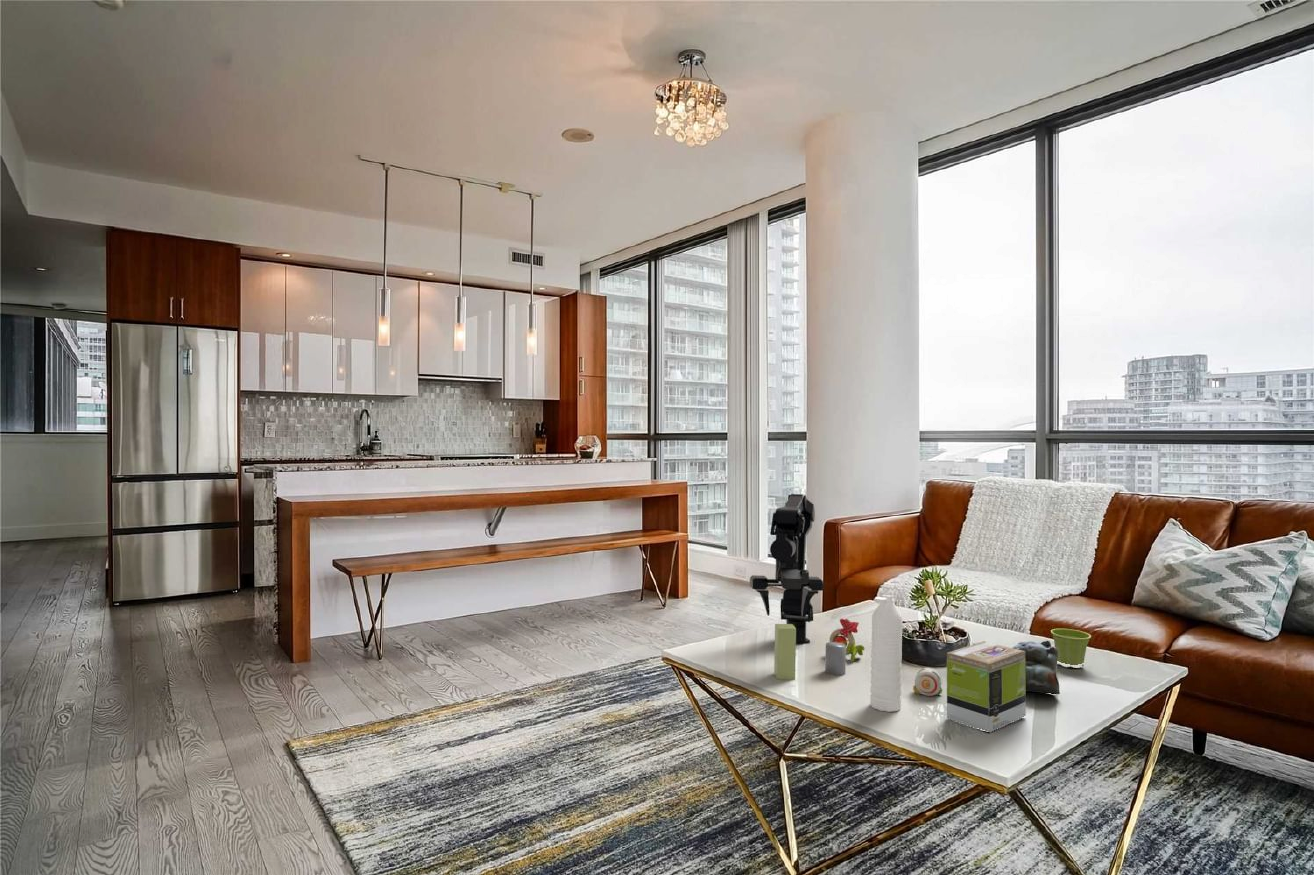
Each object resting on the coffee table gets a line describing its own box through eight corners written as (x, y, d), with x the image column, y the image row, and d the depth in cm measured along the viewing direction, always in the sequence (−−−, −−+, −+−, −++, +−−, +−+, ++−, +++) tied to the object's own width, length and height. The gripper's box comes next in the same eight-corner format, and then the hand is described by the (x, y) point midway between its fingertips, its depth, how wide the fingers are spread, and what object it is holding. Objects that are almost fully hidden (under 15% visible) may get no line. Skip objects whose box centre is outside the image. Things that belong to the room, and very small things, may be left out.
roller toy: (941, 699, 172) (941, 674, 172) (912, 695, 175) (912, 670, 175) (942, 693, 176) (943, 669, 176) (914, 689, 179) (914, 665, 179)
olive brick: (774, 673, 189) (775, 623, 189) (791, 673, 189) (792, 624, 189) (777, 679, 185) (778, 628, 185) (795, 679, 185) (796, 628, 185)
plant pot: (1098, 669, 197) (1099, 636, 197) (1072, 673, 193) (1073, 639, 193) (1067, 658, 206) (1068, 627, 205) (1041, 662, 202) (1042, 630, 202)
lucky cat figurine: (982, 687, 181) (985, 630, 186) (1016, 701, 185) (1018, 645, 191) (1038, 688, 168) (1040, 627, 174) (1073, 703, 172) (1073, 643, 178)
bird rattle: (832, 667, 202) (863, 659, 197) (817, 626, 204) (847, 617, 199) (841, 661, 207) (871, 653, 202) (826, 622, 209) (855, 613, 205)
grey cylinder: (822, 669, 193) (822, 642, 192) (840, 668, 194) (840, 641, 193) (830, 676, 188) (830, 648, 188) (848, 675, 189) (849, 647, 189)
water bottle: (876, 699, 172) (878, 590, 171) (904, 706, 168) (907, 594, 167) (862, 710, 165) (864, 597, 164) (891, 717, 161) (893, 601, 160)
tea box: (982, 704, 170) (984, 639, 169) (1026, 719, 161) (1028, 650, 161) (944, 719, 161) (946, 650, 160) (989, 735, 152) (990, 662, 152)
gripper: (756, 560, 190) (755, 621, 190) (829, 561, 191) (828, 623, 190) (750, 554, 201) (748, 612, 201) (819, 555, 202) (817, 613, 202)
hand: (785, 615), depth 198 cm, fingers open, 9 cm apart
